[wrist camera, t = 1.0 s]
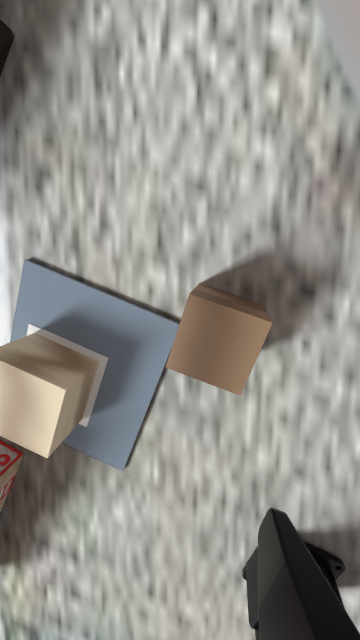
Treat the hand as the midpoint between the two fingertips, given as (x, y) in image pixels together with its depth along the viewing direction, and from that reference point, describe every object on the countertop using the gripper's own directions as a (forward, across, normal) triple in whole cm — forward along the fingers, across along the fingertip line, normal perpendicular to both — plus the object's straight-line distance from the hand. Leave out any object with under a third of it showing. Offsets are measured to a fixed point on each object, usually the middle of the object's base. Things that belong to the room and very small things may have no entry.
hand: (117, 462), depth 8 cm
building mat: (+12, +8, +6) cm, 16 cm away
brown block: (+12, -2, -2) cm, 13 cm away
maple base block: (+12, +9, +7) cm, 16 cm away
